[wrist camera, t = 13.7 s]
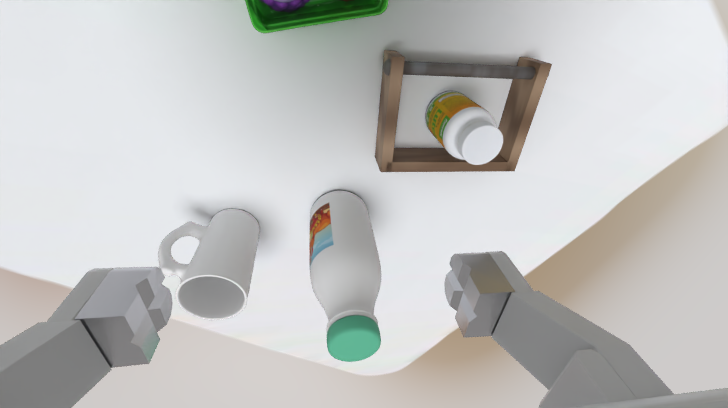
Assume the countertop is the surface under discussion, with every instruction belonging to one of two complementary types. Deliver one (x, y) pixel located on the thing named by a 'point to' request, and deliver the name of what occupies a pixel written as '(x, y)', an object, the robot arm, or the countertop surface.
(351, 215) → the milk bottle
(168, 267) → the mug
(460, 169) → the wooden bar rack
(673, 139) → the countertop surface
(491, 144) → the supplement bottle
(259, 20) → the fruit basket
